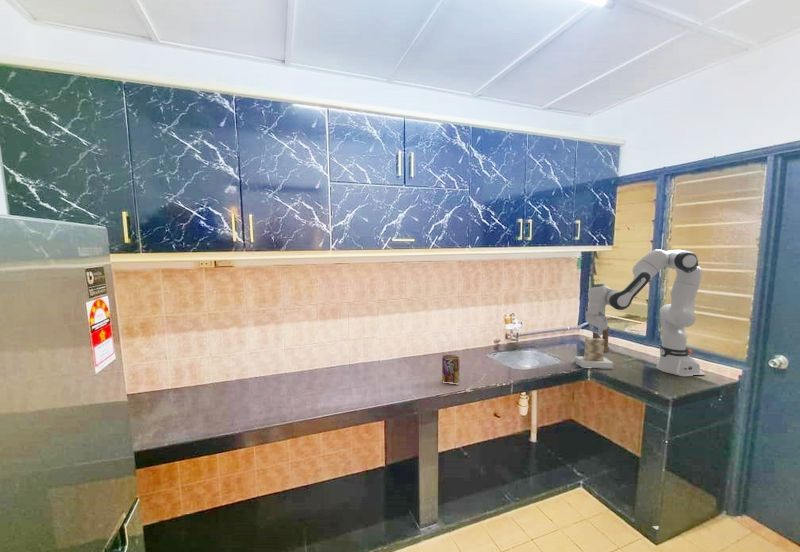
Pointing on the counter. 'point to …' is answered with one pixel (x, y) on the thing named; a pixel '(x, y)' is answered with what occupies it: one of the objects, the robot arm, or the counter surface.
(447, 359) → the candy box
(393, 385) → the counter surface
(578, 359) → the end cap
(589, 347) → the mottled tan box
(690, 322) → the robot arm
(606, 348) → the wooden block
